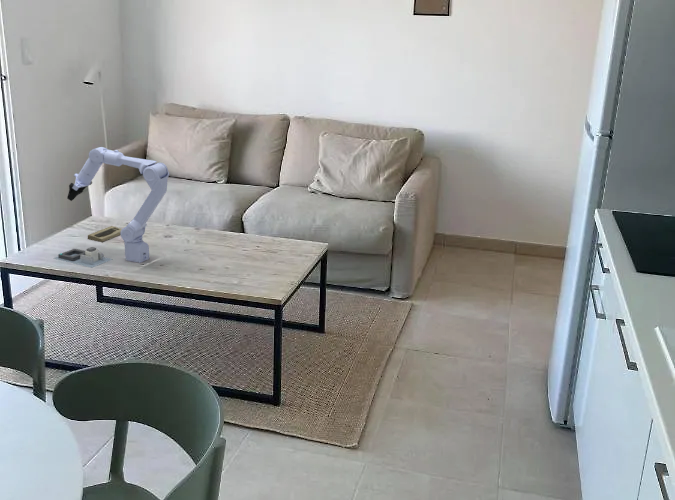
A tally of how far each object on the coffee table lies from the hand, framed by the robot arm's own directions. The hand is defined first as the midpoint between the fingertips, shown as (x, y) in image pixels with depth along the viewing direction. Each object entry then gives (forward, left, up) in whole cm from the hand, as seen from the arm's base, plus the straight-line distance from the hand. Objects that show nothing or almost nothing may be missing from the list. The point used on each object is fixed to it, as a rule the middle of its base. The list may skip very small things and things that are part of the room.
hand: (73, 195), depth 299 cm
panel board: (-9, +6, -25) cm, 27 cm away
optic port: (-4, +6, -24) cm, 25 cm away
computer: (+6, -23, -26) cm, 35 cm away
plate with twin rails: (-14, +6, -24) cm, 29 cm away
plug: (-14, +6, -24) cm, 29 cm away
